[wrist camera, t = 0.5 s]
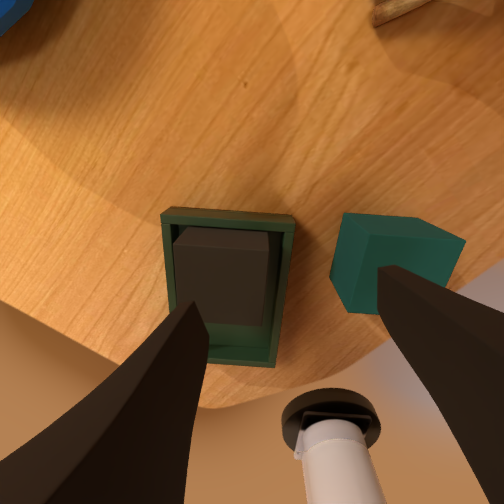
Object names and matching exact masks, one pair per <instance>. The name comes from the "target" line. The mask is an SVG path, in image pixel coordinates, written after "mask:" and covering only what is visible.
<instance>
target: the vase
mask: <svg viewBox="0 0 504 504" xmlns="http://www.w3.org/2000/svg"><path fill="white" fill-rule="evenodd" d="M33 2H34V0H0V37H1V36H2V35H3V34H4V33H5V32H6V31H7V30H8V29H9V28H11V27H12V26H13V25H14V24H15V23H16V22H17V21H18V20H19V19H20V18H21V17H22V16H23V15H24V14H25V13H27V12H28V11H29V10H30V8H31V6H32V4H33Z"/></svg>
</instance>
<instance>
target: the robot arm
mask: <svg viewBox="0 0 504 504" xmlns="http://www.w3.org/2000/svg"><path fill="white" fill-rule="evenodd" d="M377 311H378V313H379V315H380V317H381V319H382V321H383V323H384V325H385V327H386V329H387V330H388V332H389V334H390V336H391V337H392V339H393V340H394V342H395V343H396V345H397V346H398V348H399V349H400V351H401V352H402V354H403V355H404V357H405V358H406V360H407V361H408V362H409V364H410V365H411V367H412V368H413V370H414V371H415V373H416V374H417V376H418V377H419V378H420V380H421V382H422V383H423V385H424V386H425V387H426V389H427V390H428V392H429V393H430V395H431V397H432V398H433V400H434V402H435V403H436V405H437V406H438V408H439V410H440V412H441V413H442V415H443V417H444V419H445V420H446V422H447V424H448V426H449V427H450V429H451V431H452V433H453V435H454V437H455V438H456V440H457V442H458V444H459V446H460V448H461V450H462V451H463V453H464V455H465V457H466V459H467V461H468V463H469V465H470V466H471V468H472V470H473V472H474V474H475V476H476V478H477V479H478V481H479V484H480V485H481V487H482V489H483V491H484V493H485V495H486V497H487V499H488V501H489V503H490V504H504V313H503V312H500V311H498V310H495V309H493V308H491V307H488V306H485V305H483V304H481V303H478V302H476V301H473V300H471V299H469V298H467V297H464V296H462V295H460V294H457V293H455V292H453V291H451V290H449V289H446V288H444V287H442V286H440V285H438V284H436V283H434V282H431V281H429V280H427V279H425V278H423V277H421V276H419V275H417V274H415V273H413V272H410V271H408V270H406V269H404V268H402V267H399V266H397V265H389V266H384V267H378V270H377ZM209 337H210V336H209V334H208V331H207V329H206V327H205V324H204V322H203V320H202V317H201V315H200V313H199V310H198V308H197V306H196V303H195V301H188V302H182V303H180V304H179V305H178V306H177V307H176V308H175V309H174V310H173V311H172V312H171V313H170V314H169V315H168V316H167V317H166V318H165V319H164V320H163V322H162V323H161V324H160V325H159V326H158V327H157V328H156V329H155V330H154V331H153V332H152V333H151V335H150V336H149V337H148V338H147V339H146V340H145V341H144V342H143V343H142V344H141V345H140V346H139V347H138V348H137V349H136V350H135V351H134V352H133V353H132V354H131V355H130V356H129V357H128V358H127V359H126V360H125V361H124V362H123V363H122V364H121V365H120V366H119V367H118V368H117V369H116V370H115V371H114V372H113V373H112V374H111V375H110V376H109V377H108V378H107V379H105V380H104V381H103V382H102V383H101V384H100V385H99V386H97V387H96V388H95V389H94V390H93V391H92V392H91V393H90V394H88V395H87V396H86V397H85V398H84V399H83V400H81V401H80V402H79V403H77V404H76V405H75V406H74V407H72V408H71V409H70V410H69V411H67V412H66V413H65V414H63V415H62V416H61V417H60V418H58V419H57V420H56V421H55V422H53V423H52V424H51V425H50V426H49V427H47V428H46V429H44V430H43V431H42V432H41V433H39V434H38V435H36V436H35V437H34V438H32V439H31V440H29V441H28V442H27V443H25V444H24V445H23V446H21V447H20V448H18V449H17V450H16V451H14V452H13V453H11V454H10V455H9V456H7V457H6V458H4V459H3V460H1V461H0V504H184V496H185V485H186V477H187V467H188V459H189V452H190V445H191V437H192V431H193V425H194V420H195V415H196V411H197V406H198V402H199V397H200V393H201V388H202V384H203V379H204V375H205V370H206V365H207V360H208V350H209ZM371 422H372V419H371V417H370V416H368V415H356V414H342V413H328V412H314V411H306V412H304V413H303V417H302V422H301V426H300V430H299V434H298V438H297V443H296V447H295V451H294V458H295V459H297V460H302V465H303V473H304V481H305V488H306V496H307V504H387V503H386V500H385V497H384V494H383V491H382V488H381V486H380V483H379V480H378V477H377V474H376V471H375V468H374V466H373V463H372V460H371V457H370V455H369V452H368V449H367V446H366V443H365V440H364V438H365V436H366V433H367V431H368V429H369V426H370V424H371Z"/></svg>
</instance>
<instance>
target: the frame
mask: <svg viewBox="0 0 504 504" xmlns="http://www.w3.org/2000/svg"><path fill="white" fill-rule="evenodd" d="M160 218H161V223H162V224H161V227H162V238H163V249H164V259H165V270H166V281H167V291H168V302H169V312H170V313H171V312H172V311H173V310H174V309H175V308H176V307H177V306H178V304H177V291H176V278H175V265H174V252H173V243H174V242H175V241H176V240H177V239H178V238H179V236H180V235H181V234H182V233H183V232H184V231H185V230H186V228H187V227H188V226H189V225H191V226H206V227H220V228H234V229H248V230H262V231H268V237H269V248H270V254H269V264H268V274H267V284H266V293H265V303H264V313H263V322H262V326H261V327H260V326H246V325H232V324H218V323H204V324H205V327H206V329H207V331H208V334H209V336H210V337H209V350H208V360H207V363H210V364H224V365H238V366H253V367H267V368H275V365H276V358H277V351H278V344H279V337H280V330H281V323H282V316H283V309H284V302H285V295H286V288H287V281H288V274H289V267H290V260H291V253H292V247H293V240H294V232H295V226H296V223H295V221H294V219H293V217H292V215H285V214H271V213H257V212H243V211H228V210H214V209H200V208H186V207H170V208H168V209H167V210H166V211H164V212H163V213H161V214H160Z"/></svg>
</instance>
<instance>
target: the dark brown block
mask: <svg viewBox="0 0 504 504" xmlns="http://www.w3.org/2000/svg"><path fill="white" fill-rule="evenodd" d="M173 252H174V265H175V278H176V291H177V304H178V305H179V304H180V303H182V302H188V301H195V303H196V306H197V308H198V310H199V313H200V315H201V317H202V320H203V322H204V323H218V324H232V325H246V326H260V327H261V326H262V322H263V313H264V303H265V293H266V284H267V274H268V264H269V254H270V248H269V237H268V231H262V230H248V229H234V228H220V227H206V226H191V225H189V226H188V227H187V228H186V230H185V231H184V232H183V233H182V234H181V235H180V236H179V238H178V239H177V240H176V241H175V242H174V243H173Z"/></svg>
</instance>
